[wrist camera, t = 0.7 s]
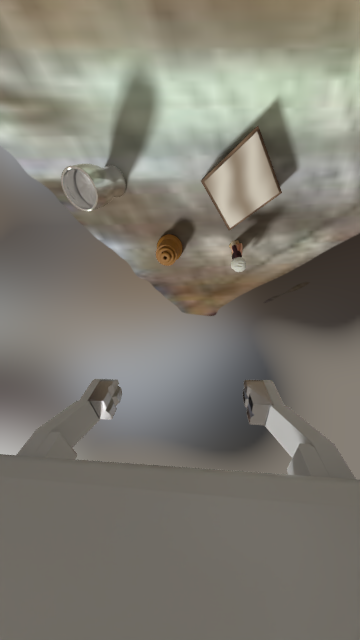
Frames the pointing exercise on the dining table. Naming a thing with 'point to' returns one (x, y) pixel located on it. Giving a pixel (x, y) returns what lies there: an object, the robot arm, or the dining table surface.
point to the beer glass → (92, 185)
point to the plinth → (242, 180)
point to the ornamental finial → (168, 249)
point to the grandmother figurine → (237, 256)
